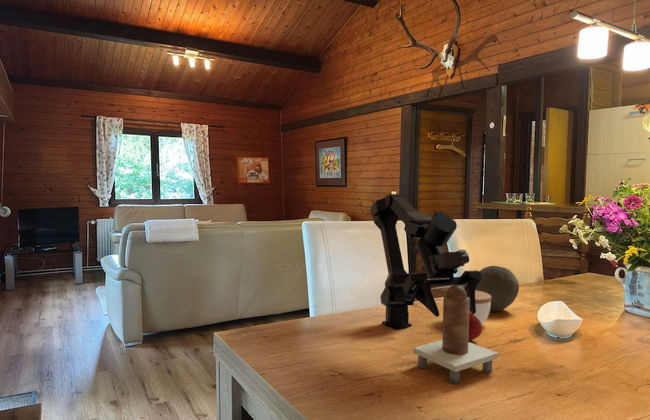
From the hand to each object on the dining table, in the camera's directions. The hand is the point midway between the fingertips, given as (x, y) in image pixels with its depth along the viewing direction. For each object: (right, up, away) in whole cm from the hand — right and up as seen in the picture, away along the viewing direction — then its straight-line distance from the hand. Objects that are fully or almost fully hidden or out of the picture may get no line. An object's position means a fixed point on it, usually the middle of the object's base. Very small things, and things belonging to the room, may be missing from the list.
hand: (456, 314), depth 95 cm
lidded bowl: (+14, -11, +34) cm, 38 cm away
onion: (+9, -12, +19) cm, 24 cm away
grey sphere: (+28, -11, +49) cm, 57 cm away
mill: (0, -8, 0) cm, 8 cm away
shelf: (0, -12, +1) cm, 12 cm away
